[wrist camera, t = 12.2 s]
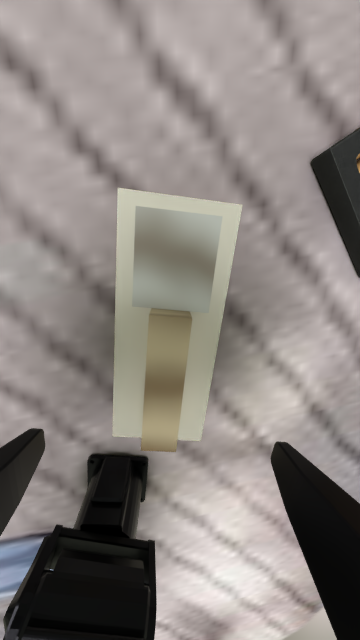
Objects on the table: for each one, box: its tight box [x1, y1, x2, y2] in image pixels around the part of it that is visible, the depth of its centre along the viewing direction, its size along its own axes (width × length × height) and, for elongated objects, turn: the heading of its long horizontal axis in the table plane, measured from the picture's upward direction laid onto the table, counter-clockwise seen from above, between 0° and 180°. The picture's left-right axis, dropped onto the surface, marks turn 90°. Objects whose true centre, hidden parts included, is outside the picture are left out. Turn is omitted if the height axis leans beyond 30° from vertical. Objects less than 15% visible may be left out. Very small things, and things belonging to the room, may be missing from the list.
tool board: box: [112, 188, 242, 441], centre depth 18 cm, size 22×9×1 cm, turn 174°
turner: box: [132, 206, 223, 452], centre depth 16 cm, size 19×6×3 cm, turn 174°
